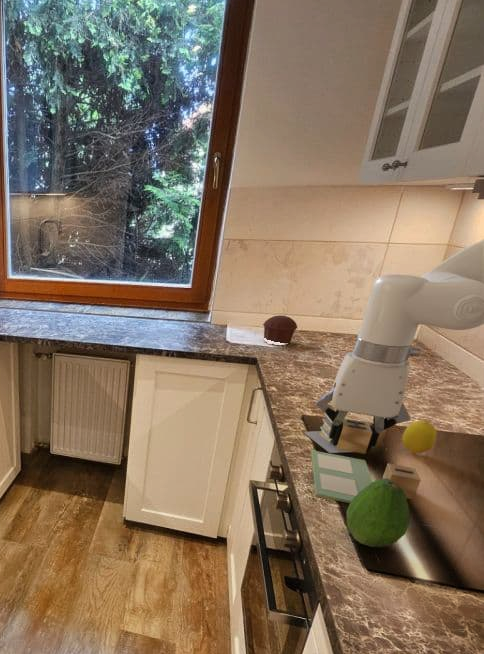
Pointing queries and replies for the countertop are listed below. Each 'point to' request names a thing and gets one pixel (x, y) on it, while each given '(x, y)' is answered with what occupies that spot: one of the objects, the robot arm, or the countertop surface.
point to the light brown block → (354, 436)
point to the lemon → (419, 437)
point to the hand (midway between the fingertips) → (350, 444)
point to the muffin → (279, 329)
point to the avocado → (378, 514)
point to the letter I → (403, 478)
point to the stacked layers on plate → (325, 436)
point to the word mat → (339, 476)
